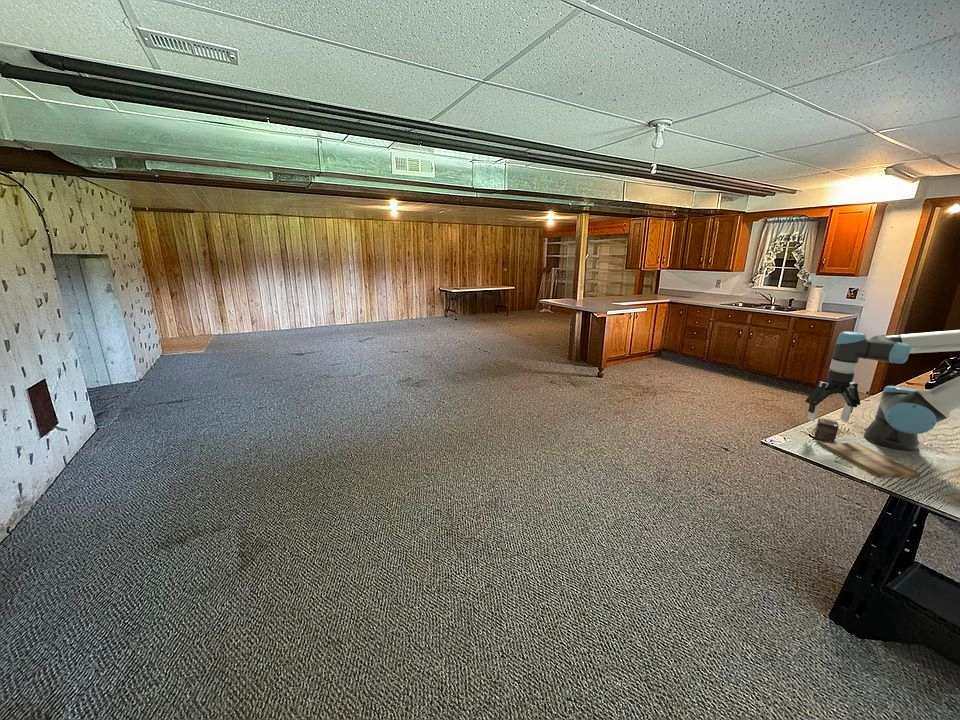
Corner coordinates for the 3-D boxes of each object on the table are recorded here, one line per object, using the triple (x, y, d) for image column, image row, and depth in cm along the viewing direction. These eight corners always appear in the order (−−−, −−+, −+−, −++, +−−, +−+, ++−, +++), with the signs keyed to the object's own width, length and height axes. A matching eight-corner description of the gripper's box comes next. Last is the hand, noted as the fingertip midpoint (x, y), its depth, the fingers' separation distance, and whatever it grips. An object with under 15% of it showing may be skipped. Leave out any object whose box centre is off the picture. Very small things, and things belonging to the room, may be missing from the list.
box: (814, 433, 160) (818, 417, 158) (833, 437, 156) (837, 421, 155) (814, 438, 156) (818, 422, 154) (834, 443, 152) (838, 426, 150)
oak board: (857, 446, 149) (858, 442, 149) (919, 477, 128) (921, 473, 128) (821, 446, 149) (822, 442, 149) (878, 477, 128) (879, 473, 128)
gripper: (863, 368, 152) (849, 416, 158) (802, 367, 152) (789, 415, 158) (883, 374, 145) (866, 424, 151) (818, 373, 145) (804, 423, 151)
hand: (827, 420), depth 154 cm, fingers open, 13 cm apart
